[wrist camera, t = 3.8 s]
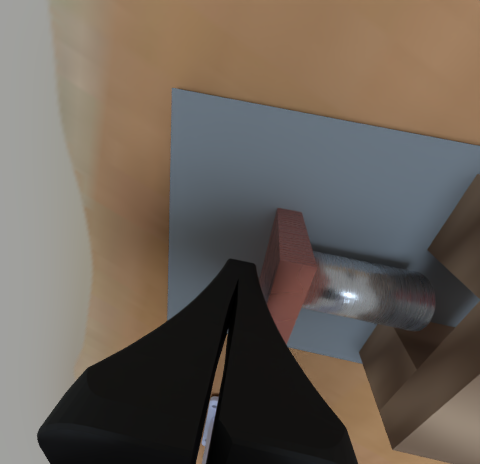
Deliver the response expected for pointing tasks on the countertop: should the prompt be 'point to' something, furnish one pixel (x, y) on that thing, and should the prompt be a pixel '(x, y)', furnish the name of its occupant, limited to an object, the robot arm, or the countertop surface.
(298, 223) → the pin
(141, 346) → the robot arm
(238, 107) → the mat
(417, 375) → the block
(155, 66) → the countertop surface
